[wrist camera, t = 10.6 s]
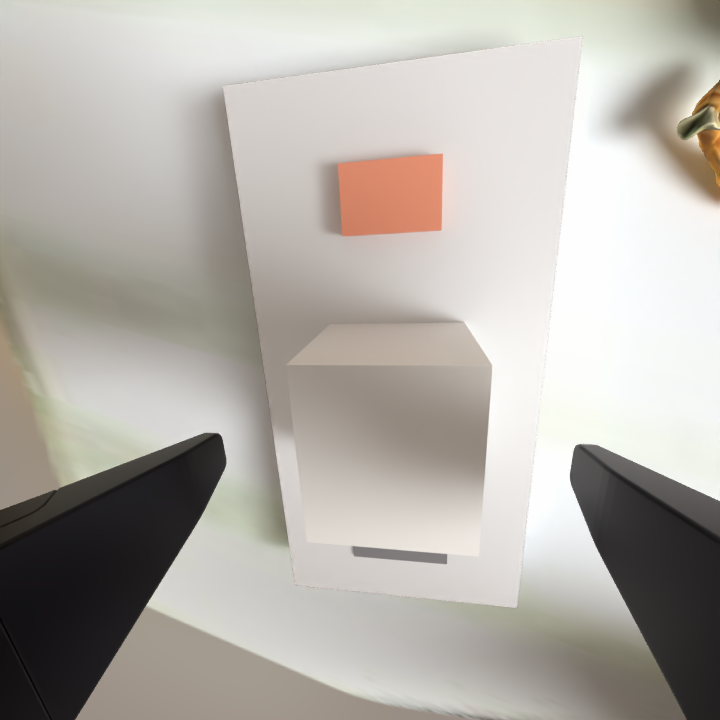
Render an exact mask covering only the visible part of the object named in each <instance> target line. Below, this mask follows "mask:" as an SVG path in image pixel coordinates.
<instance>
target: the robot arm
mask: <svg viewBox="0 0 720 720" xmlns="http://www.w3.org/2000/svg"><path fill="white" fill-rule="evenodd" d="M225 467H226V455H225V450H224V445H223V440H222V437H221V435H220V434H218V433H203V434H201V435H198V436H195V437H193V438H190V439H187V440H185V441H182V442H179V443H177V444H174V445H172V446H169V447H166V448H164V449H161V450H158V451H156V452H153V453H151V454H148V455H145V456H143V457H140V458H137V459H135V460H132V461H130V462H127V463H124V464H122V465H119V466H116V467H114V468H111V469H109V470H106V471H103V472H101V473H98V474H95V475H93V476H90V477H87V478H85V479H82V480H80V481H77V482H74V483H72V484H69V485H66V486H64V487H61V488H59V489H58V490H53V491H51V492H48V493H45V494H43V495H40V496H37V497H35V498H32V499H29V500H27V501H24V502H21V503H18V504H16V505H13V506H10V507H8V508H5V509H2V510H0V720H75V719H76V718H77V716H78V714H79V713H80V711H81V709H82V708H83V706H84V705H85V703H86V701H87V700H88V698H89V697H90V695H91V693H92V692H93V690H94V688H95V687H96V685H97V684H98V682H99V680H100V679H101V677H102V676H103V674H104V672H105V671H106V669H107V668H108V666H109V664H110V663H111V661H112V660H113V658H114V656H115V654H116V653H117V652H118V650H119V648H120V647H121V645H122V643H123V642H124V640H125V639H126V637H127V635H128V634H129V632H130V631H131V629H132V627H133V626H134V624H135V622H136V621H137V619H138V618H139V616H140V614H141V613H142V611H143V610H144V608H145V606H146V605H147V603H148V602H149V600H150V598H151V597H152V595H153V594H154V592H155V590H156V589H157V587H158V586H159V584H160V582H161V581H162V579H163V578H164V576H165V574H166V573H167V571H168V569H169V568H170V566H171V565H172V563H173V561H174V560H175V558H176V557H177V555H178V553H179V552H180V550H181V549H182V547H183V545H184V544H185V542H186V541H187V539H188V537H189V536H190V534H191V532H192V531H193V529H194V528H195V526H196V524H197V523H198V521H199V519H200V518H201V516H202V514H203V512H204V510H205V508H206V506H207V504H208V502H209V500H210V498H211V496H212V494H213V492H214V490H215V488H216V486H217V484H218V482H219V480H220V478H221V476H222V474H223V472H224V470H225ZM570 481H571V485H572V488H573V490H574V493H575V495H576V498H577V500H578V503H579V506H580V508H581V511H582V513H583V516H584V518H585V521H586V523H587V526H588V528H589V531H590V533H591V536H592V538H593V541H594V543H595V545H596V547H597V549H598V551H599V553H600V555H601V557H602V559H603V561H604V563H605V565H606V567H607V569H608V571H609V573H610V574H611V576H612V578H613V580H614V582H615V584H616V586H617V588H618V590H619V592H620V593H621V595H622V597H623V599H624V601H625V603H626V605H627V607H628V609H629V611H630V612H631V614H632V616H633V618H634V620H635V622H636V624H637V626H638V628H639V630H640V631H641V633H642V635H643V637H644V639H645V641H646V643H647V645H648V647H649V649H650V650H651V652H652V654H653V656H654V658H655V660H656V662H657V664H658V666H659V668H660V669H661V671H662V673H663V675H664V677H665V679H666V681H667V683H668V685H669V687H670V688H671V690H672V692H673V694H674V696H675V698H676V700H677V702H678V704H679V706H680V707H681V709H682V711H683V713H684V715H685V717H686V719H687V720H720V501H718V500H716V499H714V498H712V497H709V496H707V495H705V494H703V493H701V492H698V491H696V490H694V489H692V488H690V487H687V486H685V485H683V484H681V483H679V482H676V481H674V480H672V479H670V478H668V477H666V476H663V475H661V474H659V473H657V472H655V471H652V470H650V469H648V468H646V467H644V466H641V465H639V464H637V463H635V462H633V461H630V460H628V459H626V458H624V457H622V456H620V455H617V454H615V453H613V452H611V451H609V450H606V449H604V448H602V447H600V446H598V445H589V444H579V445H577V446H575V448H574V452H573V458H572V465H571V471H570Z"/></svg>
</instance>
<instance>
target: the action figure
mask: <svg viewBox="0 0 720 720" xmlns="http://www.w3.org/2000/svg"><path fill="white" fill-rule="evenodd" d="M677 133H678V136H679V137H680V138H681V139H682V140H687V139H689V138H691V137H693V136H694V135H696V134H697V136H698V139H699V145H700V147H701V149H702V151H703V153H704V154H705V157H706V158H707V160H708V161H709V163H710V165H711V167H712V169H713V170H714V172H715V178H716V183H717V185H718V186H719V187H720V80H719V82H718V83H717V84H716V85H715V86H714V87H713V88H712V89H711V90H710V91H709V92H708V93H707V94H706V95H705V96H703V98H702V99H701V100H700V101H699V102H698V103H697V105H696V107H695V109H694V111H693V113H692V116H690V117H688V118H685V119H683V120H682V121H681V122H680V123H679V125H678V127H677Z"/></svg>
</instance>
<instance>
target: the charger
mask: <svg viewBox="0 0 720 720" xmlns="http://www.w3.org/2000/svg"><path fill="white" fill-rule="evenodd" d="M492 368H493V365H492V364H491V362H490V361H489V359H488V358H487V356H486V355H485V353H484V352H483V350H482V348H481V347H480V345H479V344H478V342H477V341H476V339H475V338H474V336H473V335H472V333H471V332H470V330H469V328H468V327H467V325H466V324H465V322H438V323H377V324H330V325H329V326H328V327H327V328H325V329H324V330H323V331H322V332H321V333H320V334H319V335H318V336H317V337H316V338H315V339H314V340H312V341H311V342H310V343H309V344H308V345H307V346H306V347H305V348H304V349H303V350H302V351H300V352H299V353H298V354H297V355H296V356H295V357H294V358H293V359H292V360H291V361H290V362H289V363H287V364H286V372H287V381H288V389H289V397H290V406H291V414H292V423H293V431H294V439H295V448H296V456H297V464H298V473H299V481H300V489H301V498H302V506H303V514H304V523H305V531H306V539H307V542H311V543H323V544H335V545H347V546H358V547H370V548H382V549H394V550H405V551H417V552H429V553H441V554H453V555H464V556H476V557H479V549H480V535H481V521H482V507H483V493H484V479H485V465H486V451H487V437H488V424H489V410H490V396H491V382H492Z"/></svg>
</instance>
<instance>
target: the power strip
mask: <svg viewBox="0 0 720 720" xmlns="http://www.w3.org/2000/svg"><path fill="white" fill-rule="evenodd" d="M582 39H583V36H578V37H571V38H564V39H557V40H550V41H542V42H535V43H528V44H521V45H514V46H506V47H499V48H492V49H485V50H477V51H470V52H463V53H456V54H449V55H441V56H434V57H427V58H420V59H413V60H405V61H398V62H391V63H384V64H377V65H369V66H362V67H355V68H348V69H341V70H333V71H326V72H319V73H312V74H305V75H297V76H290V77H283V78H276V79H269V80H261V81H254V82H247V83H240V84H232V85H225V86H223V91H224V98H225V105H226V112H227V119H228V126H229V133H230V140H231V146H232V153H233V160H234V167H235V174H236V181H237V188H238V195H239V202H240V209H241V216H242V223H243V229H244V236H245V243H246V250H247V257H248V264H249V271H250V278H251V285H252V292H253V299H254V306H255V312H256V319H257V326H258V333H259V340H260V347H261V354H262V361H263V368H264V375H265V382H266V388H267V395H268V402H269V409H270V416H271V423H272V430H273V437H274V444H275V451H276V458H277V465H278V471H279V478H280V485H281V492H282V499H283V506H284V513H285V520H286V527H287V534H288V541H289V548H290V554H291V561H292V568H293V575H294V582H295V585H297V586H307V587H317V588H327V589H336V590H346V591H356V592H366V593H375V594H385V595H395V596H405V597H414V598H424V599H434V600H444V601H453V602H463V603H473V604H483V605H492V606H502V607H512V608H517V603H518V595H519V586H520V577H521V569H522V560H523V551H524V543H525V534H526V525H527V517H528V508H529V499H530V491H531V482H532V473H533V465H534V456H535V447H536V438H537V430H538V421H539V412H540V404H541V395H542V386H543V378H544V369H545V360H546V352H547V343H548V334H549V326H550V317H551V308H552V300H553V291H554V282H555V274H556V265H557V256H558V248H559V239H560V230H561V221H562V213H563V204H564V195H565V187H566V178H567V169H568V161H569V152H570V143H571V135H572V126H573V117H574V109H575V100H576V91H577V83H578V74H579V65H580V57H581V48H582ZM438 322H465V324H466V325H467V327H468V328H469V330H470V332H471V333H472V335H473V336H474V338H475V339H476V341H477V342H478V344H479V345H480V347H481V348H482V350H483V352H484V353H485V355H486V356H487V358H488V359H489V361H490V362H491V364H492V365H493V368H492V382H491V396H490V410H489V424H488V437H487V451H486V465H485V479H484V493H483V507H482V521H481V535H480V549H479V557H476V556H464V555H453V554H441V553H429V552H417V551H405V550H394V549H382V548H370V547H358V546H347V545H335V544H323V543H311V542H307V539H306V531H305V523H304V514H303V506H302V498H301V489H300V481H299V473H298V464H297V456H296V448H295V439H294V431H293V423H292V414H291V406H290V397H289V389H288V381H287V372H286V364H287V363H289V362H290V361H291V360H292V359H293V358H294V357H295V356H296V355H297V354H298V353H299V352H300V351H302V350H303V349H304V348H305V347H306V346H307V345H308V344H309V343H310V342H311V341H312V340H314V339H315V338H316V337H317V336H318V335H319V334H320V333H321V332H322V331H323V330H324V329H325V328H327V327H328V326H329V325H330V324H377V323H438Z"/></svg>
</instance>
